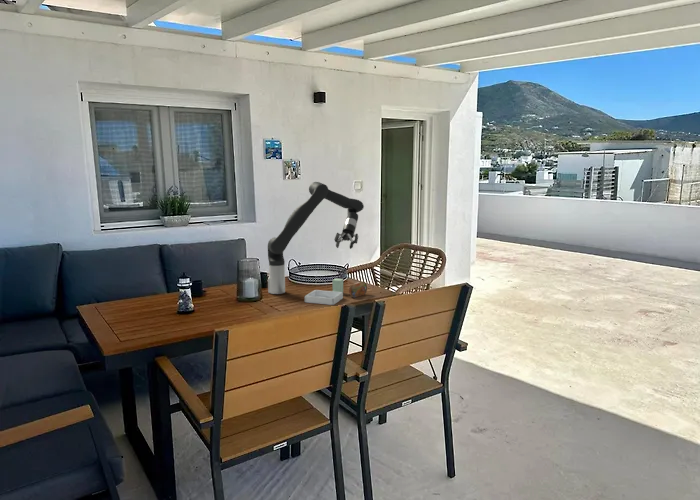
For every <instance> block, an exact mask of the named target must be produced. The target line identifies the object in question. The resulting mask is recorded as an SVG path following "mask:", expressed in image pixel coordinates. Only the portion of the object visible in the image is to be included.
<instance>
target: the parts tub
mask: <svg viewBox="0 0 700 500" xmlns="http://www.w3.org/2000/svg"><path fill="white" fill-rule="evenodd" d="M343 299H344V291H343V292H334V291H333V290H320V289H314V290H311V292H309V293H308V294H306V295H304V303H310V304H317V305H318V304H321V305H330V306H334V305H335V304H337V303H338V302H340V301H341V300H343Z"/></svg>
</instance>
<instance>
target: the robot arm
mask: <svg viewBox="0 0 700 500" xmlns="http://www.w3.org/2000/svg"><path fill="white" fill-rule="evenodd" d="M308 191H309V192H308V193H309V195H310V197H308V199H307V200H306V201H305V202H303V203H302V204H300V205H299V206H297V207H296V208H295V209H294V210H293V212H292V213H291V214H290V215H289V217H288V218H287V221H286V223H285V225H284V228H283V229H282V231H281V232H279V234H278V236H277V237H272V238H270V239H269V240H268V243H267V259H268V267H269V268H268V270H269V273H268V274H269V276H268V277H267V291H268V292H267V293H268V294H271V295H281V294H285V293H286V277H285V275H286V274H285V273H286V271H285V270H286V267H285V261H286V260H285V258H284V251H285V250H286V248H287V247H288V245H289V243H290V242H291V240H292V238H293V237H294V236H295V235H296V234H297V233H298V231H299V230H300V229H301V227H302V226H303V225H304V224H305V222H306V221H307V220H308V218H309V217H310V215H311V214H312V213H314V211H315V209H316V208H317V207H318V206H319V204H321V203H322V202H323V200H327V201H329V202H331V203H333V204H334V205H337V206H339V207H340V208H343V209H347V217H346V220H345V222H344V225H343V228H342V231H341V233H339V232H337V233H335V236H334V243H335V247H336V248H337V249H338V248H339V246H340V243H342V242H345V241H347V242H349V241H350V244H349V249H350V250H351V249H353V248H354V245H355V244H358V240H359V235H358V233H356V228H357V224H358V220H359V214H358V213H359V212H361V211H363V210H364V207H365V206H364V203H363V202H362V201H361V200H359V199H356V198H349V197H347V196H345V195H343V194H341V193H339V192H335V191H332V190H331V189H329V187H328V186H327V185H326V184H324V183H322V182H320V181H314V182H311V183H310V184H309V187H308Z"/></svg>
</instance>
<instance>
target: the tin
mask: <svg viewBox="0 0 700 500" xmlns="http://www.w3.org/2000/svg"><path fill="white" fill-rule="evenodd" d="M367 292H368V285H367V283H366V282H365V281H358V282H355V283H352V284H350V286H349V288H348V294H349V297H350V298H354V299H355V298H357V297H361V296H365V295H366V294H367Z"/></svg>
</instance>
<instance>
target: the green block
mask: <svg viewBox="0 0 700 500" xmlns="http://www.w3.org/2000/svg"><path fill="white" fill-rule="evenodd" d="M332 291H334V292H343V293H344V279H343V278H336V277H335V278H334V279H332Z"/></svg>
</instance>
